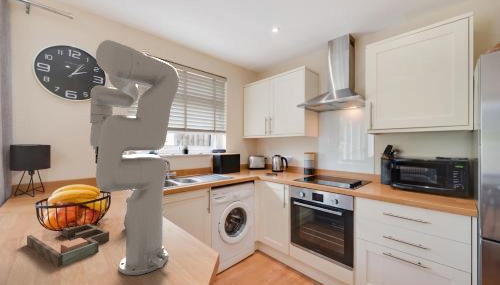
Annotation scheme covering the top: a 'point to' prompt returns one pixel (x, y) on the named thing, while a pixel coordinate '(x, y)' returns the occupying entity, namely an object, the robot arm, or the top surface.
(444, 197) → the top surface
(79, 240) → the block
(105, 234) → the channel
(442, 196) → the top surface
